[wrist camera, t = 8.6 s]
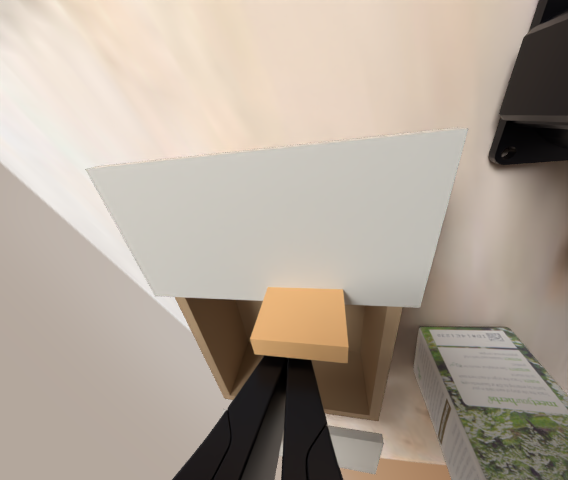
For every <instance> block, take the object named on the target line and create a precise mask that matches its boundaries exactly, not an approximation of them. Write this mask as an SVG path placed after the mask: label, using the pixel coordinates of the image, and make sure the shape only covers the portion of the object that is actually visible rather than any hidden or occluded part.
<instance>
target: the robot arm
mask: <svg viewBox="0 0 568 480" xmlns="http://www.w3.org/2000/svg"><path fill="white" fill-rule="evenodd" d="M499 114H500V116H501V119H500V122H499V125H498V128H497V131H496V134H495V137H494V140H493V143H492V146H491V149H490V152H489V158H490V161H492V162H494V163H497V164H501V165H509V164H522V163H536V162H549V161H563V160H568V0H539V3H538V6H537V9H536V12H535V15H534V18H533V21H532V24H531V27H530V30H529V33H528V34H527V35H526V36H525V37H524V39H523V41H522V44H521V47H520V50H519V53H518V57H517V60H516V63H515V66H514V69H513V72H512V75H511V78H510V81H509V85H508V88H507V91H506V94H505V97H504V100H503V103H502V106H501V109H500V113H499ZM508 147H509V152H508V154H507V155H505V156H504V157H502V152H503V151H504V150H505V149H506V148H508ZM283 431H284V437H283V457H282V477H281V480H343V478H342V474H341V471H340V468H339V465H338V462H337V458H336V454H335V451H334V447H333V444H332V440H331V436H330V432H329V428H328V426H327V420H326V416H325V412H324V408H323V404H322V400H321V396H320V392H319V388H318V384H317V380H316V376H315V372H314V368H313V364H312V360H308V359H297V358H287V357H277V356H267V355H264V356H263V358H262V359H261V361H260V362H259V363H258V365H257V366H256V368H255V369H254V371H253V372H252V374H251V375H250V376H249V378H248V379H247V381H246V382H245V384H244V385H243V387H242V388H241V389H240V391H239V392H238V394H237V395H236V397H235V398H234V400H233V401H232V402H231V404H230V405H229V407H228V410H226V411H225V412H224V414H223V415H222V417H221V418H220V420H219V421H218V422H217V424H216V425H215V427H214V428H213V429H212V431H211V432H210V434H209V435H208V436H207V438H206V439H205V440H204V442H203V443H202V444H201V445H200V446H199V448H198V449H197V450H196V451H195V453H194V454H193V455H192V456H191V458H190V459H189V460H188V461H187V462H186V464H185V465H184V466H183V467H182V468H181V470H180V471H179V472H178V473H177V474H176V476H175V477H174V478H173V479H172V480H274V479H275V473H276V468H277V462H278V457H279V452H280V447H281V441H282V436H283Z"/></svg>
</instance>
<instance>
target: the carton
mask: <svg viewBox="0 0 568 480" xmlns="http://www.w3.org/2000/svg"><path fill="white" fill-rule="evenodd" d="M175 299H176V301H177V303H178V305H179V307H180V309H181V311H182V313H183V315H184V317H185V319H186V321H187V323H188V325H189V327H190V329H191V331H192V333H193V335H194V337H195V339H196V341H197V343H198V345H199V348H200V350H201V352H202V354H203V356H204V358H205V359H206V362H207V364H208V366H209V368H210V370H211V372H212V374H213V376H214V378H215V380H216V382H217V384H218V386H219V388H220V390H221V392H222V394H223V396H224V398H225V399H231V400H234V398H235V397H236V395H237V394H238V392H239V391H240V389H241V388H242V387H243V385H244V384H245V382H246V381H247V379H248V378H249V376H250V375H251V374H252V372H253V371H254V369H255V368H256V366H257V365H258V363H259V362H260V361H261V359H262V358H263V356H264V355H256V354H254V351H253V347H252V344H251V341H250V337H251V334H252V332H253V329H254V326H255V323H256V320H257V317H258V314H259V311H260V308H261V305H262V302H263V301H255V300H232V299H209V298H186V297H175ZM402 308H403V307H392V306H369V305H346V304H345V315H346V326H347V336H348V363H338V362H328V361H318V360H312V364H313V368H314V372H315V376H316V380H317V384H318V388H319V392H320V396H321V400H322V404H323V408H324V412H325V413H326V414H333V415H340V416H347V417H354V418H360V419H367V420H374V421H379V416H380V411H381V407H382V402H383V397H384V393H385V388H386V383H387V379H388V374H389V369H390V364H391V360H392V355H393V350H394V346H395V341H396V336H397V332H398V327H399V322H400V318H401V313H402Z"/></svg>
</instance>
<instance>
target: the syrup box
mask: <svg viewBox="0 0 568 480" xmlns="http://www.w3.org/2000/svg"><path fill="white" fill-rule="evenodd" d="M413 368H414V374H415V377H416V379H417V382H418V385H419V388H420V391H421V393H422V396H423V398H424V401H425V404H426V406H427V409H428V412H429V415H430V418H431V421H432V424H433V427H434V429H435V432H436V435H437V438H438V441H439V444H440V447H441V450H442V453H443V456H444V459H445V462H446V465H447V468H448V471H449V473H450V477H451V480H568V395H567V394H566V393H565V392H564V391H563V390H562V388H561V387H560V386H559V385H558V384H557V383H556V381H555V380H554V379H553V378H552V377H551V376H550V375H549V374H548V372H547V371H546V370H545V369H544V368H543V367H542V365H541V364H540V363H539V362H538V361H537V360H536V359H535V357H534V356H533V355H532V354H531V353H530V352H529V350H528V349H527V348H526V346H525V345H524V344H523V343H522V342H521V341H520V340H519V339H518V338H517V336H516V335H515V334H514V333H513V332H512V331H511V330H510V329H509V328H500V327H420V328H419V332H418V337H417V344H416V352H415V360H414V367H413Z"/></svg>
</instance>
